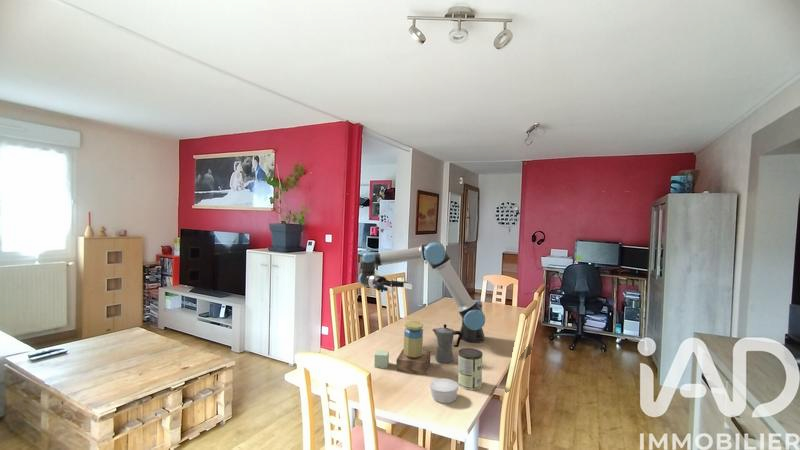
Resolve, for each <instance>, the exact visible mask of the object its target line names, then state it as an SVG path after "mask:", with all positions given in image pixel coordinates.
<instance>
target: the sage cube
mask: <svg viewBox="0 0 800 450" xmlns="http://www.w3.org/2000/svg"><path fill="white" fill-rule="evenodd" d="M389 353H390V351H389V350H380V349H376V351H375V354H374V368H379V369H380V368H381V369H387V368H388V365H389V362H390V361H389V360H390V359H389V357H390V354H389Z"/></svg>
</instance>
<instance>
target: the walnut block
mask: <svg viewBox="0 0 800 450" xmlns="http://www.w3.org/2000/svg"><path fill="white" fill-rule="evenodd" d="M430 365H431V350H430V351H429V350H428V351H427V350H422V355H421V356H420V357H416V358H411V357H408V356H406V355H405V354H404V348H402V350H401V352H400V353H399V354H398V356H397V358H396V367H395V368H396V369H395V370H396V371H395V372H399V373H406V374H407V373H408V374H416V375H427V373H428V370H429V368H430Z"/></svg>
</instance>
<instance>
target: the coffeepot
mask: <svg viewBox="0 0 800 450" xmlns="http://www.w3.org/2000/svg"><path fill="white" fill-rule="evenodd" d="M432 331H433V332H434V335H435V337H436V340H437V349H436V354H435V360H436V362H438V363H442V364H450V363H453V362H454V355H453V349H452V345H453V341H454V335H458V336H457V340H456V344H454V345H453V347H454V348H458V347H460V343H461V341H462V340H461V338H462V334H461V333H460V330H454V329H452V328H449V327H447V324H445V323H444V324H443V327H438V328H433V329H432Z"/></svg>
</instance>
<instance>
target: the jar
mask: <svg viewBox="0 0 800 450" xmlns="http://www.w3.org/2000/svg"><path fill="white" fill-rule="evenodd" d="M404 327H405V329H404V334H403V336H404V337H403V349H404V354H405V355H406V356H408V357H411V358H416V357H420V356H421V355H422V351H423V341H424V339H423V338H424V329H423V327H424V324H423V323H422V322H420V321H415V320H411V321H406V322H405V324H404Z"/></svg>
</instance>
